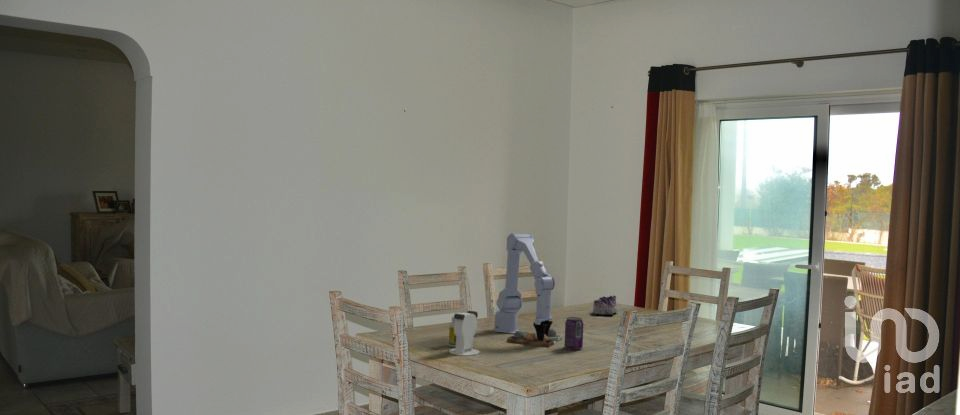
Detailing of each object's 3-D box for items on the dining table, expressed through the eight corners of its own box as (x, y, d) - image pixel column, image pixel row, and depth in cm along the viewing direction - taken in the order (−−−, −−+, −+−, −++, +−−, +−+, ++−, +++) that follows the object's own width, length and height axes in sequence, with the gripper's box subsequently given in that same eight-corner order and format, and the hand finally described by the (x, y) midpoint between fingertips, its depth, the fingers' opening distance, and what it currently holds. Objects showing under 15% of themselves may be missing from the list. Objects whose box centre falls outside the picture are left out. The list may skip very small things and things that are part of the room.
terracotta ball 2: (535, 343, 304) (536, 333, 304) (539, 341, 308) (539, 332, 308) (545, 344, 303) (545, 334, 302) (548, 343, 306) (548, 333, 306)
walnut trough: (506, 341, 308) (507, 338, 308) (512, 339, 314) (512, 335, 313) (549, 347, 301) (549, 343, 301) (553, 344, 306) (554, 340, 306)
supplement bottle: (460, 343, 301) (461, 315, 301) (467, 347, 296) (468, 318, 295) (446, 344, 298) (447, 316, 298) (453, 348, 293) (454, 319, 292)
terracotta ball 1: (524, 342, 306) (524, 332, 306) (527, 340, 310) (527, 330, 310) (533, 343, 305) (533, 333, 304) (536, 341, 308) (537, 331, 308)
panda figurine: (460, 347, 295) (461, 308, 294) (485, 351, 289) (487, 312, 289) (443, 352, 285) (444, 312, 284) (469, 357, 279) (470, 316, 278)
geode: (597, 309, 397) (601, 291, 397) (619, 315, 393) (622, 296, 393) (588, 314, 378) (592, 294, 378) (611, 319, 374) (615, 299, 374)
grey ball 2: (545, 338, 315) (545, 328, 315) (548, 336, 319) (548, 327, 319) (554, 339, 314) (554, 329, 314) (557, 337, 317) (557, 328, 317)
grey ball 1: (512, 340, 308) (512, 330, 308) (515, 339, 312) (516, 329, 312) (521, 341, 307) (522, 332, 306) (525, 340, 310) (525, 330, 310)
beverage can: (584, 347, 302) (585, 317, 302) (580, 351, 296) (581, 320, 295) (566, 345, 305) (567, 316, 304) (562, 349, 298) (563, 318, 298)
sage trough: (513, 338, 314) (513, 335, 314) (522, 334, 325) (522, 330, 324) (554, 343, 307) (554, 340, 307) (562, 339, 317) (562, 335, 317)
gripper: (547, 309, 296) (546, 344, 297) (558, 304, 310) (557, 337, 310) (530, 307, 299) (529, 341, 300) (542, 302, 313) (540, 335, 313)
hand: (542, 339), depth 305 cm, fingers closed on terracotta ball 2, 4 cm apart
